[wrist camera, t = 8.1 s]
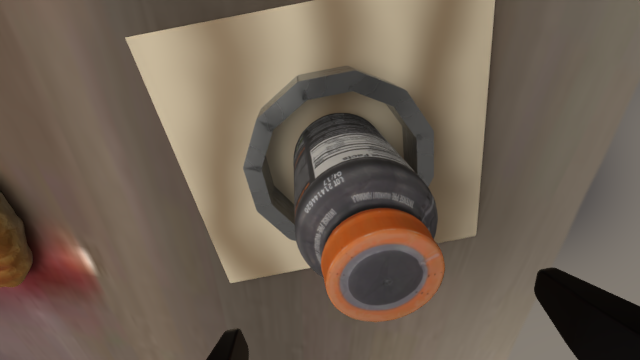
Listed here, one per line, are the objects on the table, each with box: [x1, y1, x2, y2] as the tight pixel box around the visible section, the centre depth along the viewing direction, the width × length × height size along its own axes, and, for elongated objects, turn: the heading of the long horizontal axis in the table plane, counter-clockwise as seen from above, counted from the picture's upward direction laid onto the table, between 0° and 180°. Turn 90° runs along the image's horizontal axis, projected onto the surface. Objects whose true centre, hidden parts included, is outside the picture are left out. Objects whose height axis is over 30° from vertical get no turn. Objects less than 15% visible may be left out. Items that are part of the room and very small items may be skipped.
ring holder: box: [126, 0, 495, 283], centre depth 19 cm, size 20×18×3 cm
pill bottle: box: [293, 113, 445, 322], centre depth 15 cm, size 6×6×11 cm
